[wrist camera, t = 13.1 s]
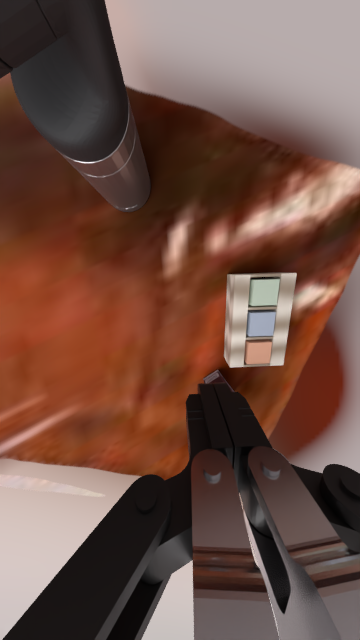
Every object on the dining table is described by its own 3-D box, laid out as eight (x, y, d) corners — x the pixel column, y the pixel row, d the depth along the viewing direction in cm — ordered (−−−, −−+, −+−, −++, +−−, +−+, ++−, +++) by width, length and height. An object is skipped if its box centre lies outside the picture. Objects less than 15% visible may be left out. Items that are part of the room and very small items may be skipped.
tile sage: (245, 278, 38) (254, 280, 34) (269, 278, 38) (279, 279, 34) (244, 302, 39) (251, 305, 36) (266, 301, 40) (276, 304, 36)
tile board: (227, 274, 39) (235, 275, 34) (281, 272, 39) (296, 273, 35) (223, 356, 45) (230, 367, 40) (271, 354, 45) (283, 365, 40)
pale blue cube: (243, 308, 40) (251, 313, 36) (266, 307, 40) (275, 312, 36) (242, 330, 41) (249, 336, 37) (263, 329, 41) (273, 335, 37)
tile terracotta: (241, 336, 42) (248, 343, 38) (263, 335, 42) (272, 342, 38) (240, 355, 43) (247, 364, 39) (261, 354, 43) (269, 363, 39)
